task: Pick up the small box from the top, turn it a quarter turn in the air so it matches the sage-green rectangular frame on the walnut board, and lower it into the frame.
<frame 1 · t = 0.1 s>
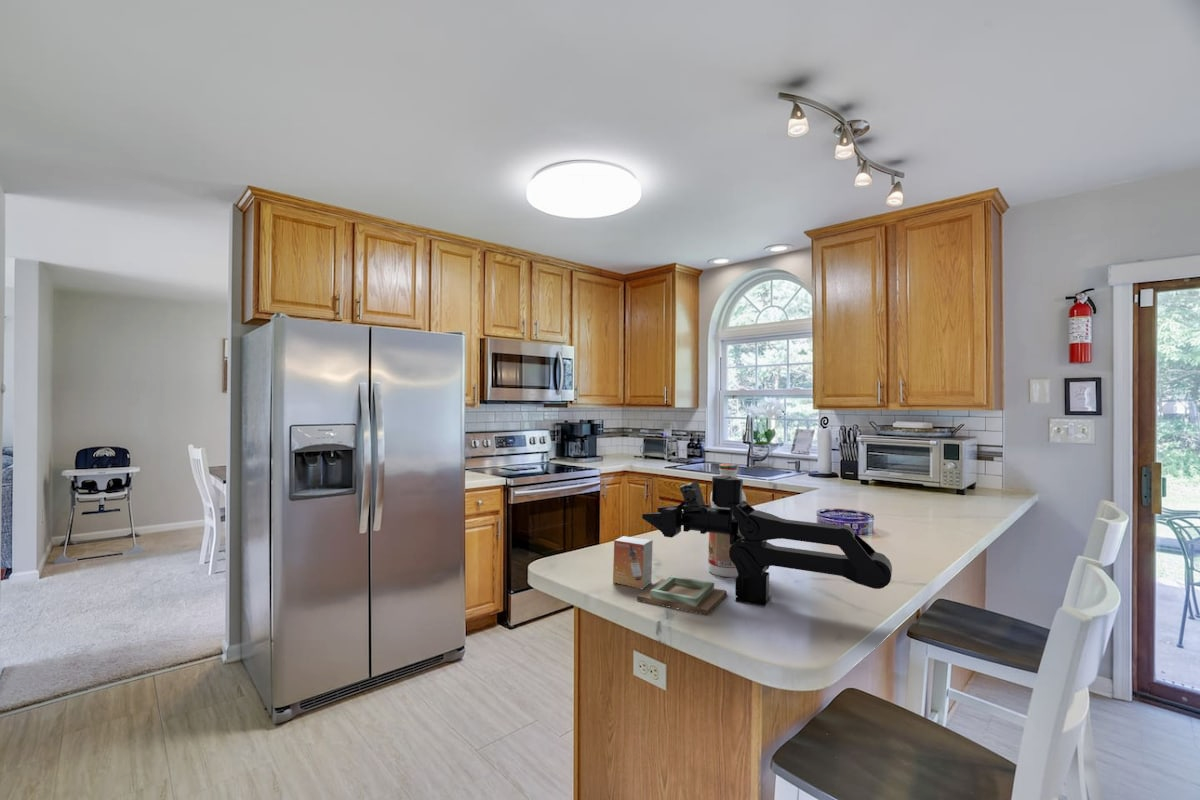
hand: (650, 512, 137), 17 cm above the table, tool horizontal, fingers open, 9 cm apart
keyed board: (682, 597, 125), on the table
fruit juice: (726, 573, 144), on the table
small box: (632, 584, 134), on the table
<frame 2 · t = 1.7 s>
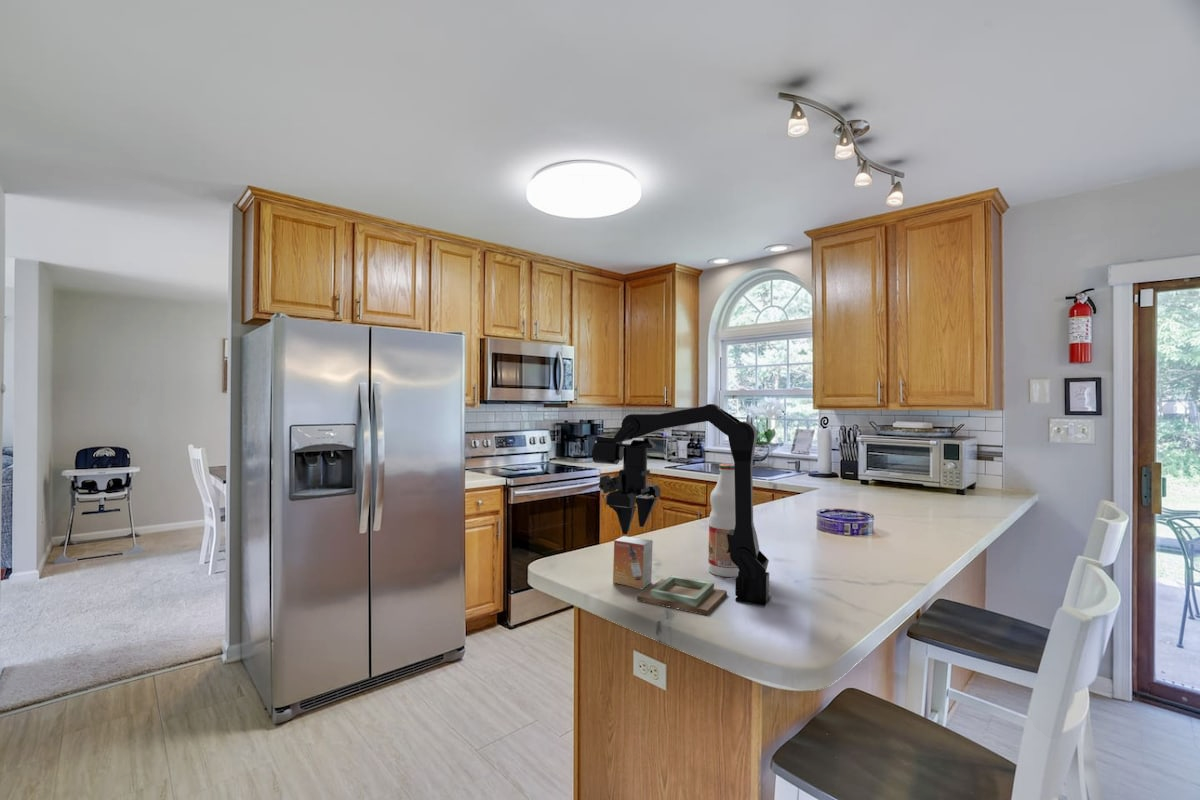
hand: (633, 530, 134), 13 cm above the table, tool pointing down, fingers open, 9 cm apart
nothing on the table moved.
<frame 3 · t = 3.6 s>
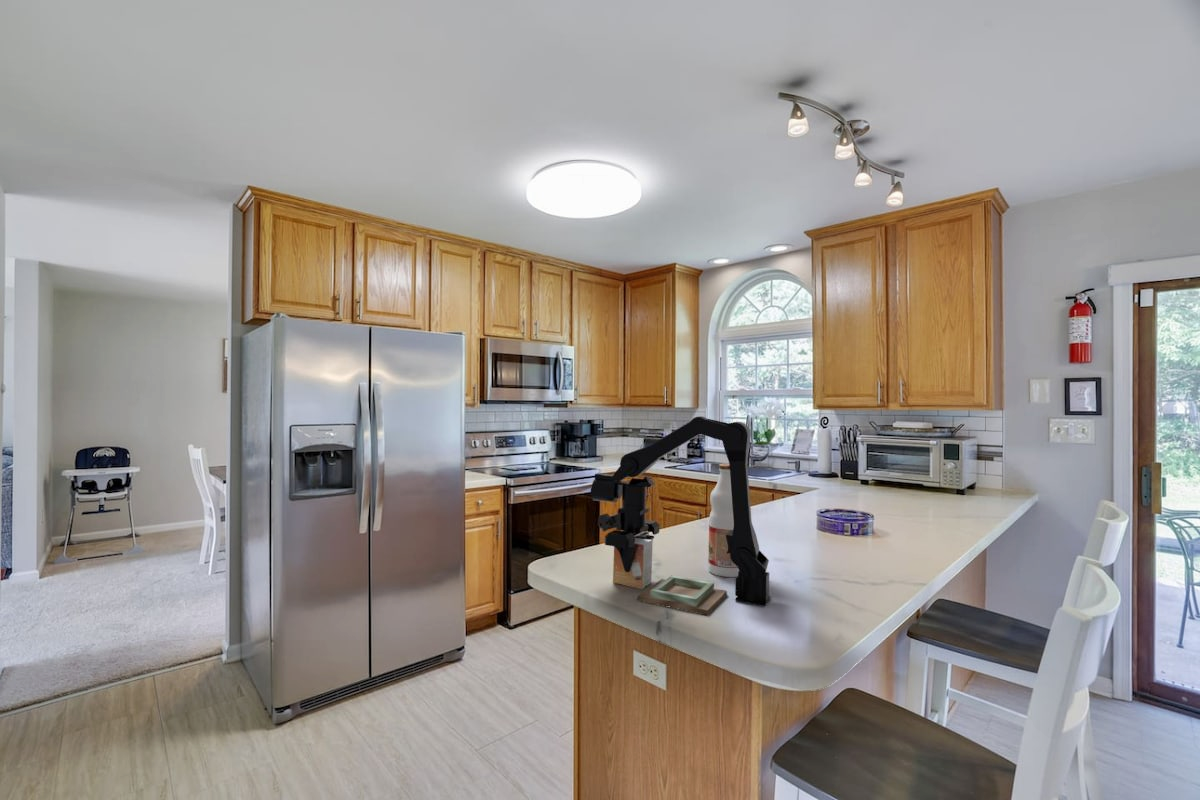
hand: (632, 568, 134), 4 cm above the table, tool pointing down, fingers closed on small box, 6 cm apart
small box: (632, 584, 134), on the table, touching gripper
everything else where it was.
when the fingers open (6 cm above the table, at t = 8.1 s): small box stays where it is, resting on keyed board.
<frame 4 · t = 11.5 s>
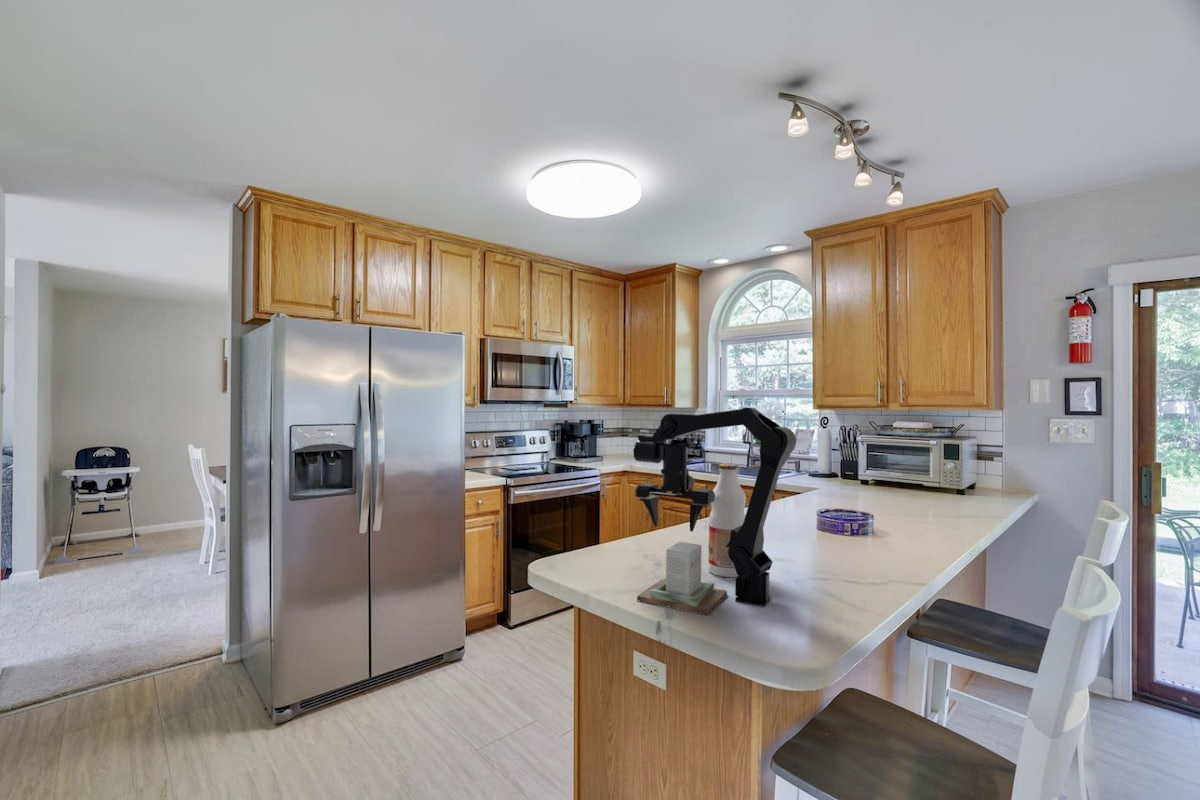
hand: (673, 528, 136), 13 cm above the table, tool pointing down, fingers open, 9 cm apart
small box: (683, 594, 125), point 1 cm above the table, touching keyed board
everything else where it was.
at the end: small box 0.1 cm off-centre on the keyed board, point 0.8 cm above the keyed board's base; small box tilted 0°; the gripper is holding nothing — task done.
